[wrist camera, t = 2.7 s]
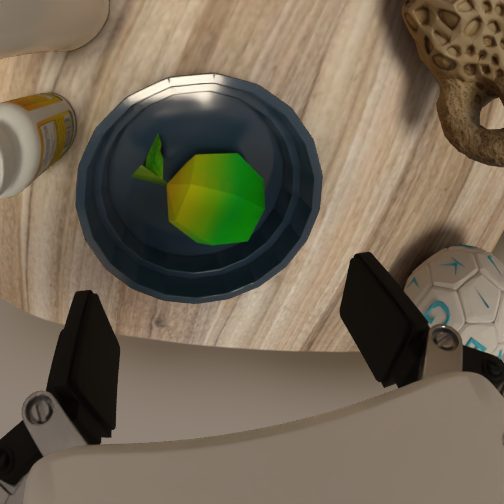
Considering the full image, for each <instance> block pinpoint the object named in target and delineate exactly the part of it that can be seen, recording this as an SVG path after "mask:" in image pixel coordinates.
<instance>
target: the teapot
mask: <svg viewBox="0 0 504 504" xmlns="http://www.w3.org/2000/svg"><path fill="white" fill-rule="evenodd" d="M401 12H402V16H403V20H404V22H405V24H406V26H407V28H408V30H409V32H410V34H411V35H412V37H413V38H414V41H415V44H416V47H417V51H418V54H419V58H420V60H421V61H422V62H424V63H425V64H426V65H427V67H428V68H429V70H430V71H431V73H432V74H433V76H434V77H435V78H436V80H437V81H438V83H439V84H440V86H441V88H440V94H439V98H438V101H437V103H436V104H437V112H438V116H439V119H440V122H441V126H442V129H443V132H444V135H445V137H446V138H447V139H448V141H449V142H450V143H451V144H452V145H453V146H454V147H455V148H456V149H457V150H458V151H459V152H461V153H463V154H465V155H466V156H467V157H468V158H470V159H472V160H475V161H478V162H480V163H483V164H486V165H490V166H497V167H504V128H502V129H486V128H484V127H483V126H481V125H480V111H481V109H482V108H483V107H484V106H485V105H486V104H488V103H489V102H490V101H491V100H493V99H495V98H498V97H500V99H501V101H502V103H503V106H504V0H404V2H403V7H402V11H401Z"/></svg>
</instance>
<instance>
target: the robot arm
mask: <svg viewBox="0 0 504 504" xmlns="http://www.w3.org/2000/svg"><path fill="white" fill-rule="evenodd" d="M340 316H341V319H342V320H343V322H344V324H345V326H346V327H347V329H348V331H349V332H350V334H351V336H352V338H353V339H354V341H355V343H356V345H357V346H358V348H359V350H360V352H361V354H362V355H363V357H364V359H365V360H366V362H367V364H368V366H369V368H370V370H371V371H372V373H373V375H374V377H375V379H376V380H377V381H378V382H381V383H382V385H383V387H384V388H385V387H388V386H391V385H393V384H397V386H398V389H395V390H393V391H390V392H387V393H384V394H382V395H379V396H376V397H373V398H370V399H367V400H365V401H362V402H359V403H356V404H352V405H349V406H346V407H343V408H340V409H337V410H333V411H330V412H327V413H323V414H319V415H316V416H312V417H308V418H304V419H301V420H296V421H292V422H288V423H283V424H279V425H274V426H270V427H266V428H260V429H255V430H249V431H244V432H238V433H233V434H226V435H219V436H212V437H204V438H196V439H187V440H178V441H164V442H150V443H131V444H104V445H100V443H101V437H105V438H109V437H111V430H114V429H115V427H116V402H117V400H116V399H117V384H118V370H119V357H120V346H119V343H118V341H117V338H116V336H115V334H114V332H113V330H112V327H111V325H110V323H109V321H108V318H107V316H106V314H105V311H104V309H103V307H102V304H101V302H100V299H99V297H98V295H97V294H96V293H95V294H93V292H92V291H91V290H85V291H77V292H76V293H75V295H74V298H73V301H72V304H71V307H70V310H69V314H68V317H67V320H66V324H65V327H64V329H63V330H62V331H61V332H60V335H59V339H58V342H57V346H56V350H55V353H54V357H53V361H52V365H51V370H50V374H49V378H48V383H47V388H46V391H37V392H35V393H32V394H31V395H30V396H28V397H27V399H26V400H25V402H24V403H23V407H22V417H23V420H22V421H21V422H20V423H19V424H18V425H17V426H15V427H14V428H13V429H12V430H11V431H10V432H8V433H7V434H6V435H5V436H4V437H3V438H2V439H0V504H504V363H503V362H502V360H501V359H499V358H498V357H497V356H495V355H492V354H489V353H486V352H483V351H480V350H477V349H474V348H471V347H468V346H465V345H463V342H462V338H461V336H460V334H459V333H458V332H457V331H456V330H455V329H454V328H452V327H451V326H448V325H446V324H436V325H434V326H432V327H431V328H430V327H429V325H428V323H429V322H428V321H427V319H426V318H425V317H424V315H423V314H422V313H421V312H420V310H419V309H418V308H417V307H416V305H415V304H414V303H413V302H412V300H411V299H410V298H409V297H408V296H407V294H406V293H405V292H404V291H403V289H402V288H401V287H400V286H399V285H398V283H397V282H396V281H395V280H394V279H393V278H392V276H391V275H390V274H389V273H388V272H387V270H386V269H385V268H384V267H383V266H382V265H381V264H380V262H379V261H378V260H377V259H376V258H375V257H374V256H373V254H372V253H370V252H364V253H358V254H355V255H354V258H352V259H351V260H350V264H349V269H348V274H347V279H346V283H345V288H344V293H343V297H342V302H341V306H340Z"/></svg>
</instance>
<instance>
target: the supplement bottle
mask: <svg viewBox="0 0 504 504" xmlns="http://www.w3.org/2000/svg"><path fill="white" fill-rule="evenodd" d="M75 128H76V123H75V116H74V113H73V110H72V108H71V106H70V105H69V104H68V102H67V101H66V100H65V99H64V98H62V97H61V96H59V95H56V94H52V93H41V94H36V95H31V96H27V97H22V98H18V99H14V100H10V101H6V102H2V103H0V198H8V197H12V196H14V195H16V194H18V193H20V192H21V191H23V190H24V189H25V188H26V187H28V186H29V185H30V184H31V183H32V182H33V181H34V180H35V179H36V178H37V177H39V176H40V175H41V174H42V173H43V172H44V171H45V170H47V169H48V168H49V167H50V166H51V165H52V164H54V163H55V162H56V161H57V160H59V159H60V158H61V157H62V156H63V155H64V154H65V153H66V152H67V150H68V149H69V147H70V146H71V144H72V141H73V138H74V135H75Z"/></svg>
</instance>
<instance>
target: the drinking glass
mask: <svg viewBox="0 0 504 504" xmlns="http://www.w3.org/2000/svg"><path fill="white" fill-rule="evenodd" d="M108 12H109V0H0V59H3V58H8V57H14V56H19V55H25V54H32V53H39V52H48V51H56V52H66V51H71V50H74V49H77V48H79V47H82V46H83V45H85V44H87V43H88V42H89V41H91V40H92V39H93V38H94V37H95V36H96V35H97V34H98V33H99V31H100V30H101V29H102V27H103V26H104V24H105V22H106V19H107V16H108Z"/></svg>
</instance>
